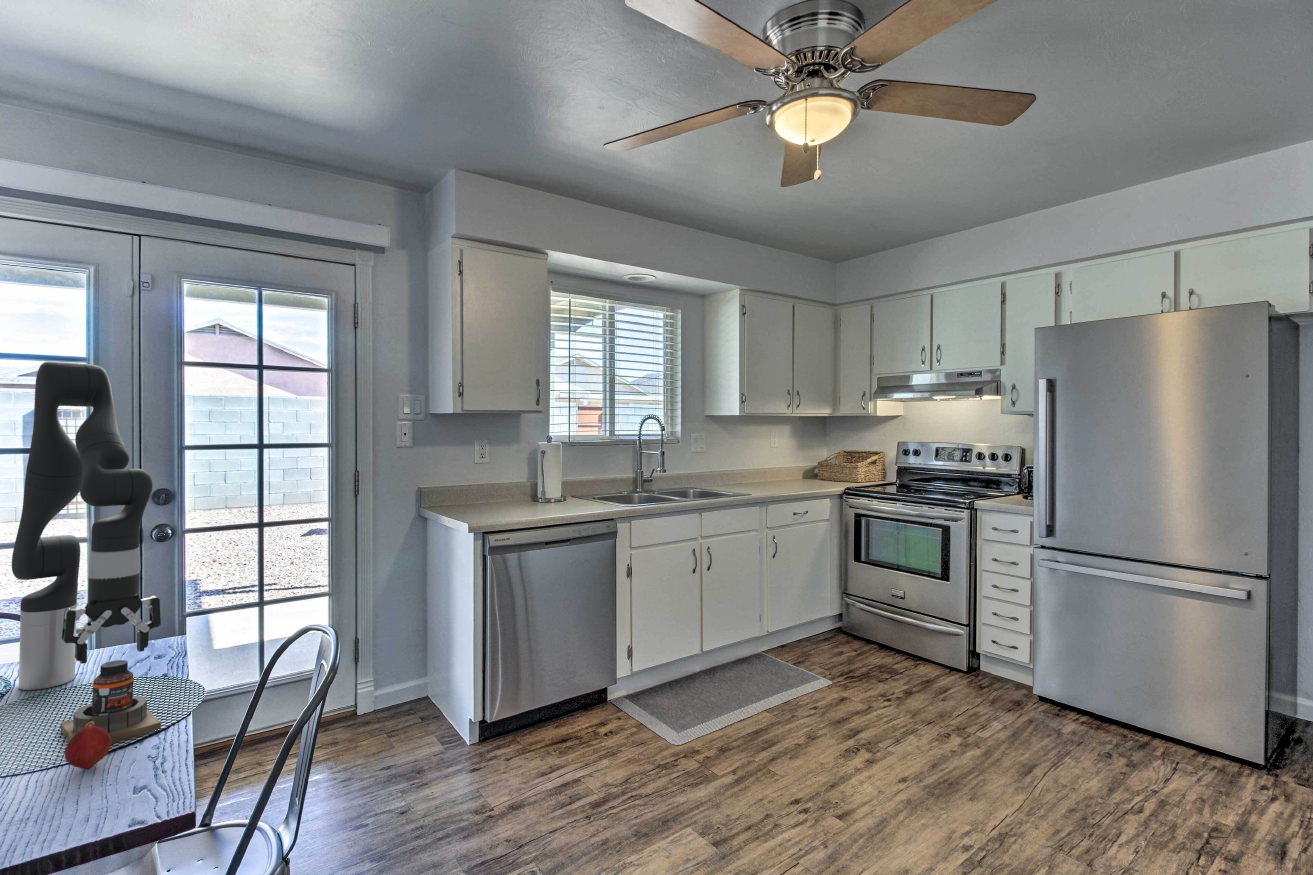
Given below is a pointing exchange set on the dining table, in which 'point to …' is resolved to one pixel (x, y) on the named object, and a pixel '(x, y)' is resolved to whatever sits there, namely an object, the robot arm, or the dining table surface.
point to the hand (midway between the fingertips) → (112, 656)
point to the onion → (88, 746)
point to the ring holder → (115, 721)
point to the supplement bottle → (112, 689)
